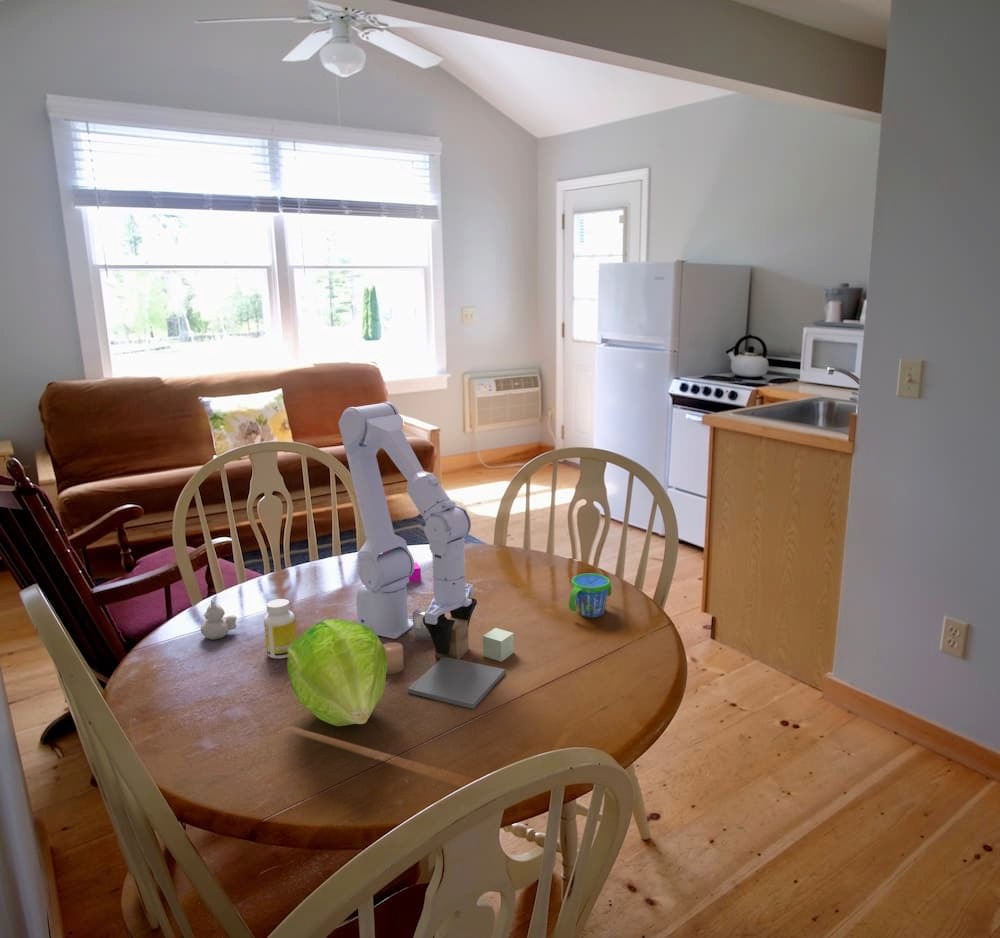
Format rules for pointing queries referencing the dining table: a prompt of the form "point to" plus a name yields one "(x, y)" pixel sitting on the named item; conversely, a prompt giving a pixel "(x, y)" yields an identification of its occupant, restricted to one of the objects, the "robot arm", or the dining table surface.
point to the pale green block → (498, 644)
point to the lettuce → (338, 671)
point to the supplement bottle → (279, 628)
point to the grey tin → (420, 625)
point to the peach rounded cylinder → (394, 657)
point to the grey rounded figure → (217, 622)
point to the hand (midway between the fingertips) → (451, 645)
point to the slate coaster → (457, 682)
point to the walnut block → (457, 639)
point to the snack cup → (589, 594)
